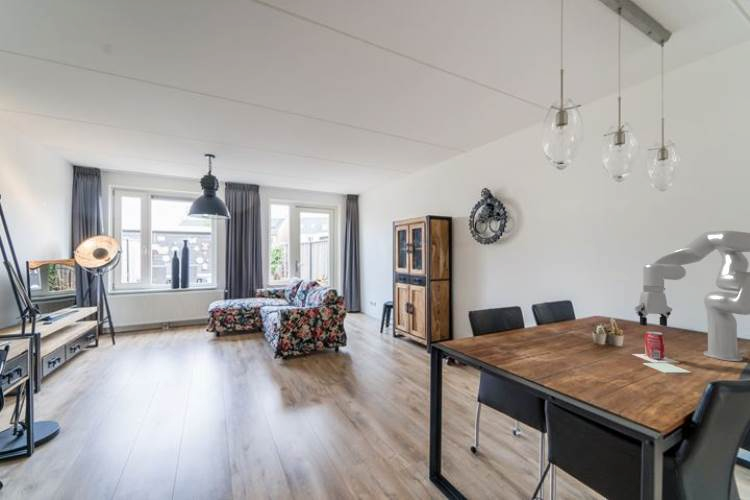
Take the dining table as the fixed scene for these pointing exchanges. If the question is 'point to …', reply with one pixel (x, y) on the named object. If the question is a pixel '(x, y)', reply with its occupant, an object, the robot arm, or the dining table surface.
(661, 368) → the mat
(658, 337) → the soda can
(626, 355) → the dining table surface
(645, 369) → the dining table surface
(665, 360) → the tile
